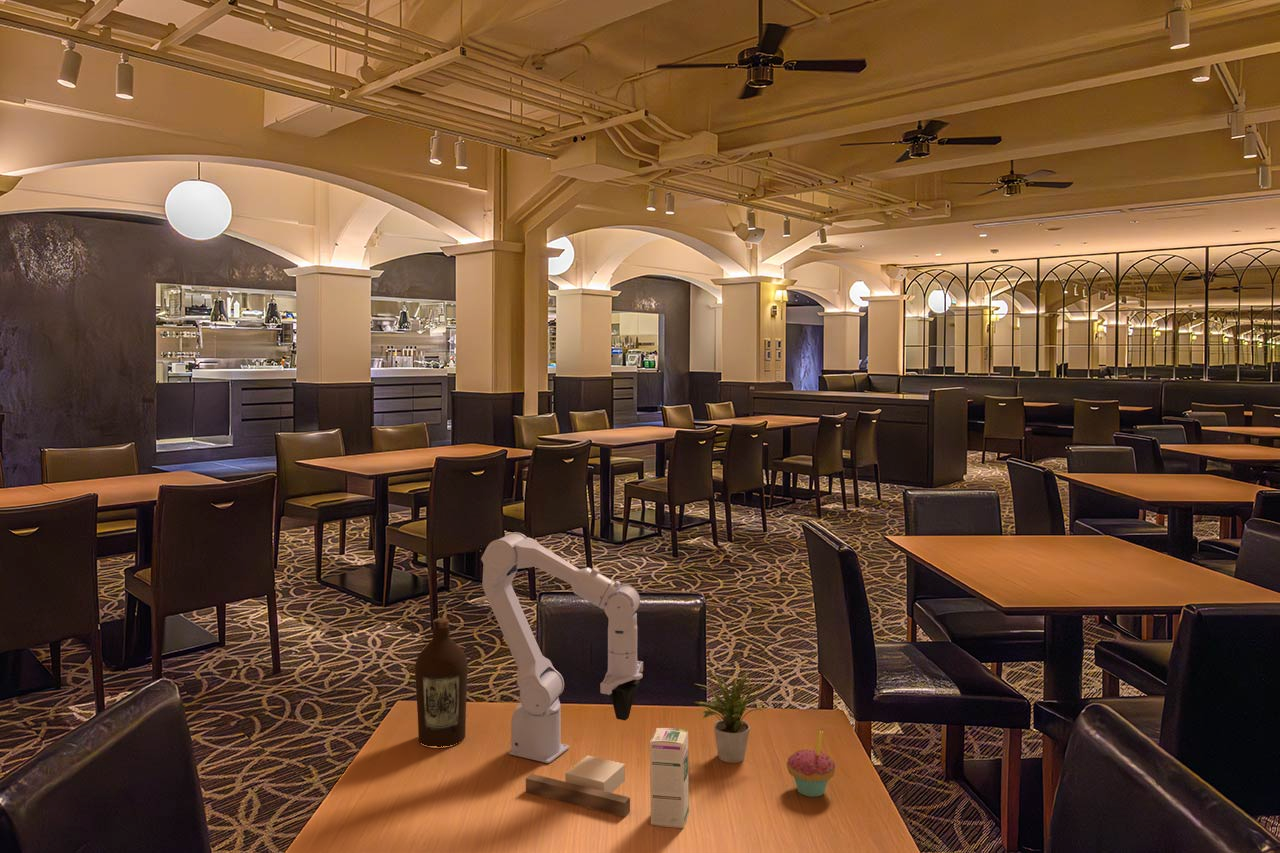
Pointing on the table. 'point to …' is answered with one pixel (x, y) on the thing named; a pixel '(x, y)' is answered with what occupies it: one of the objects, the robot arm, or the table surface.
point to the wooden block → (597, 774)
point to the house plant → (730, 720)
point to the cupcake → (811, 770)
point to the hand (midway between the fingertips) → (622, 718)
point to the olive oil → (441, 689)
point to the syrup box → (669, 777)
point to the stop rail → (578, 795)
